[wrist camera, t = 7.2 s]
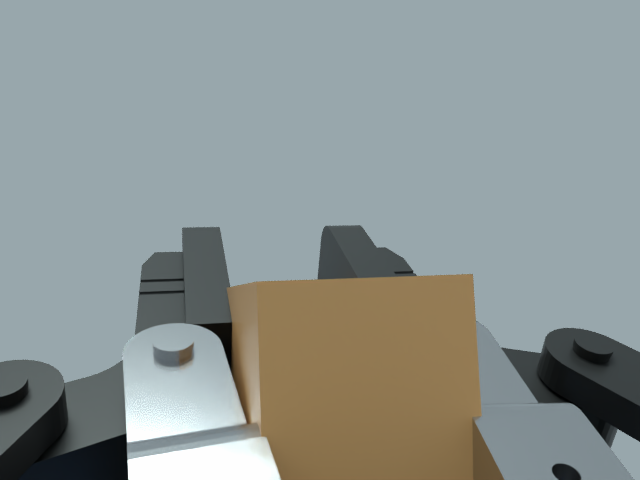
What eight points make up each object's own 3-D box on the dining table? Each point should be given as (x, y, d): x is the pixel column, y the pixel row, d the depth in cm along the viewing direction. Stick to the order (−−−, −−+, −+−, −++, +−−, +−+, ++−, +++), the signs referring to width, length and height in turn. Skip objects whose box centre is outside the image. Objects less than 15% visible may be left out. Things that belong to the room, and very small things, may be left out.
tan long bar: (486, 498, 6) (472, 274, 6) (264, 528, 5) (256, 280, 5) (237, 334, 31) (235, 292, 31) (194, 337, 30) (193, 294, 31)
